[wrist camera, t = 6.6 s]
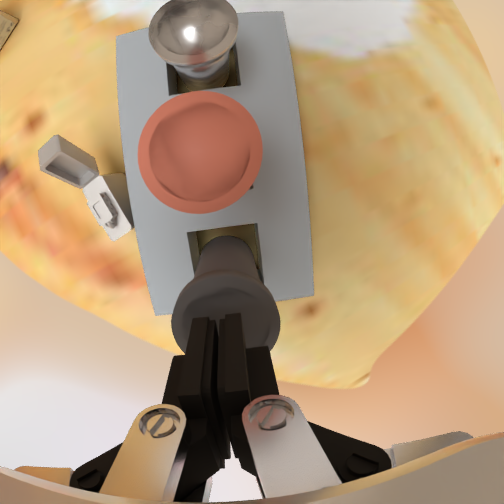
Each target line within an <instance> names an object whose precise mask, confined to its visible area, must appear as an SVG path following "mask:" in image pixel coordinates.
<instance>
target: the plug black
mask: <svg viewBox="0 0 504 504" xmlns="http://www.w3.org/2000/svg"><path fill="white" fill-rule="evenodd" d="M240 312H241V316H242V323H243V329H244V336H245V342H246V348H253V347H260V346H267V345H268V347H269V351H271V349H272V348H273V346H274V345H275V343H276V341H277V339H278V336H279V332H280V316H279V312H278V309H277V306H276V303H275V300H274V298H273V296H272V294H271V292H270V291H269V289H268V288H267V287H266V286H265V285H264V284H263V283H262V282H261V281H260V280H259V276H258V273H257V269H256V265H255V261H254V257H253V254H252V251H251V249H250V248H249V246H248V245H247V244H246V243H245V242H244V241H243V240H241V239H239V238H237V237H234V236H219V237H216V238H214V239H212V240H211V241H209V242H208V243H207V244H206V245H205V247H204V248H203V250H202V252H201V255H200V258H199V262H198V265H197V268H196V272H195V275H194V278H193V280H191V281H190V282H189V283H188V284H187V285H186V286H185V287H184V288H183V290H182V291H181V293H180V294H179V296H178V299H177V301H176V304H175V307H174V310H173V313H172V320H171V325H172V332H173V335H174V338H175V340H176V342H177V344H178V346H179V347H180V349H181V350H182V351H183V352H184V353H185V352H186V347H187V342H188V338H189V333H190V328H191V323H192V319H193V318H199V317H208V316H209V319H210V320H215V321H216V325H217V330H218V335H219V320H220V319H225V314H232V313H240Z"/></svg>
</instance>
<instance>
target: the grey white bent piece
mask: <svg viewBox="0 0 504 504" xmlns="http://www.w3.org/2000/svg"><path fill="white" fill-rule="evenodd" d="M38 156H39V164H40V170H41V171H43V172H45V173H47V174H49V175H51V176H53V177H56V178H58V179H60V180H62V181H64V182H66V183H69V184H71V185H73V186H75V187H77V188H80V189H81V188H83V193H84V195H85V197H86V198H87V200H88V202H87V205H88V206H89V208H90V210H91V212H92V213H93V215H94V217H95V218H96V220H97V222H98V223H99V225H100V226H103V228H104V229H105V231H106V233H107V234H108V236H109V237H110V239H111V240H112V241H116V240H117V239H119V238H120V237H121V236H123V235H124V234H126V233H127V232H129V231H130V230H132V229H133V228H135V226H134V221H133V215H132V210H131V204H130V198H129V192H128V185H127V178H126V176H125V174H124V173H115V174H106V175H99V171H98V167H97V164H96V161H95V158H94V157H92V156H91V155H89V154H88V153H86V152H85V151H83V150H81V149H80V148H78V147H77V146H75V145H74V144H72V143H70V142H69V141H67V140H66V139H64V138H62V137H61V136H59V135H54V136H53V137H52V138H51V139H50V140H49V141H48V142H47V143H46V144H45V145H43V146H42V147H41V148H40V149H39V150H38Z"/></svg>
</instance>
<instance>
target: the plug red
mask: <svg viewBox="0 0 504 504" xmlns="http://www.w3.org/2000/svg"><path fill="white" fill-rule="evenodd" d="M262 154H263V146H262V139H261V134H260V131H259V128H258V126H257V124H256V122H255V120H254V118H253V117H252V116H251V114H250V113H249V112H248V111H247V110H246V108H245V107H243V106H242V105H241V104H240V103H239V102H237V101H236V100H234V99H232V98H230V97H228V96H226V95H224V94H220V93H217V92H211V91H192V92H188V93H184V94H181V95H178V96H176V97H174V98H172V99H170V100H168V101H167V102H165V103H164V104H162V105H161V106H160V107H159V108H158V109H157V110H156V111H155V112H154V113H153V114H152V115H151V116H150V118H149V119H148V121H147V122H146V124H145V126H144V128H143V130H142V133H141V136H140V139H139V144H138V154H137V155H138V165H139V170H140V173H141V176H142V178H143V180H144V182H145V184H146V186H147V187H148V189H149V190H150V192H151V193H152V194H153V195H154V196H155V197H156V198H157V199H158V200H160V201H161V202H162V203H164V204H165V205H167V206H168V207H171V208H173V209H175V210H178V211H181V212H185V213H190V214H205V213H211V212H215V211H218V210H221V209H224V208H226V207H228V206H230V205H231V204H233V203H234V202H236V201H237V200H239V199H240V198H241V197H242V196H243V195H244V194H245V193H246V192H247V191H248V190H249V188H250V187H251V186H252V184H253V183H254V181H255V179H256V177H257V175H258V172H259V170H260V167H261V162H262Z"/></svg>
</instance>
